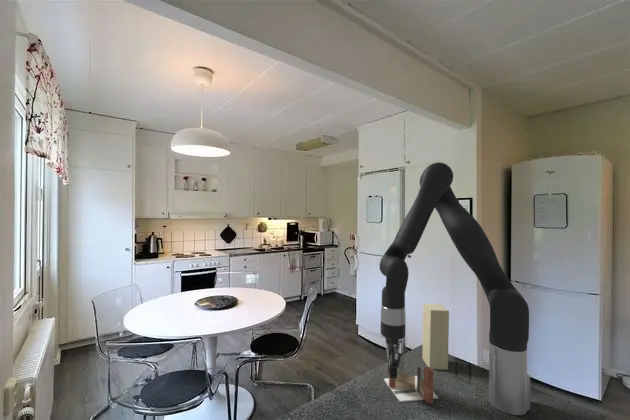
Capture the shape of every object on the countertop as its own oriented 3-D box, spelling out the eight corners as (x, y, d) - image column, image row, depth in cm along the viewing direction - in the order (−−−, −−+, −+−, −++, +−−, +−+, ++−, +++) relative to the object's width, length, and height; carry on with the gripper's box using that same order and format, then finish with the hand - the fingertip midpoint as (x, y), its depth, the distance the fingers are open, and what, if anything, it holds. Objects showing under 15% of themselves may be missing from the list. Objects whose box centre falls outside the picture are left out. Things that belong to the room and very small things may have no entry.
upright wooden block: (450, 370, 106) (451, 310, 106) (429, 369, 106) (430, 309, 106) (441, 359, 114) (442, 303, 114) (422, 358, 114) (422, 303, 114)
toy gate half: (414, 386, 94) (414, 357, 94) (415, 390, 92) (415, 360, 92) (389, 383, 95) (389, 355, 95) (389, 386, 94) (389, 357, 94)
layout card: (417, 376, 101) (417, 375, 101) (438, 398, 89) (438, 396, 89) (384, 379, 99) (384, 378, 99) (400, 402, 87) (400, 400, 87)
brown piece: (420, 390, 93) (420, 358, 93) (433, 404, 86) (433, 370, 86) (415, 391, 93) (415, 359, 93) (427, 405, 86) (427, 370, 86)
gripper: (410, 329, 87) (409, 389, 87) (400, 313, 101) (400, 364, 101) (383, 328, 88) (383, 387, 88) (378, 312, 102) (377, 363, 101)
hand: (392, 375), depth 94 cm, fingers closed on toy gate half, 2 cm apart
